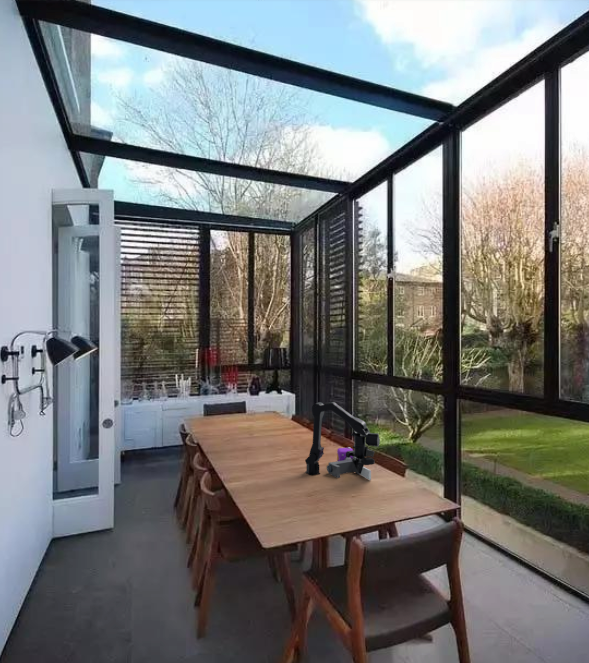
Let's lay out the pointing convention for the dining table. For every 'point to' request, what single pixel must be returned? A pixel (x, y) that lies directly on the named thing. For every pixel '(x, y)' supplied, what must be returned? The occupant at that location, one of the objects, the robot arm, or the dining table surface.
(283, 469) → the dining table surface
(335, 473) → the grey hollow rectangular block
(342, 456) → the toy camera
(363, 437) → the robot arm
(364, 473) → the side door
